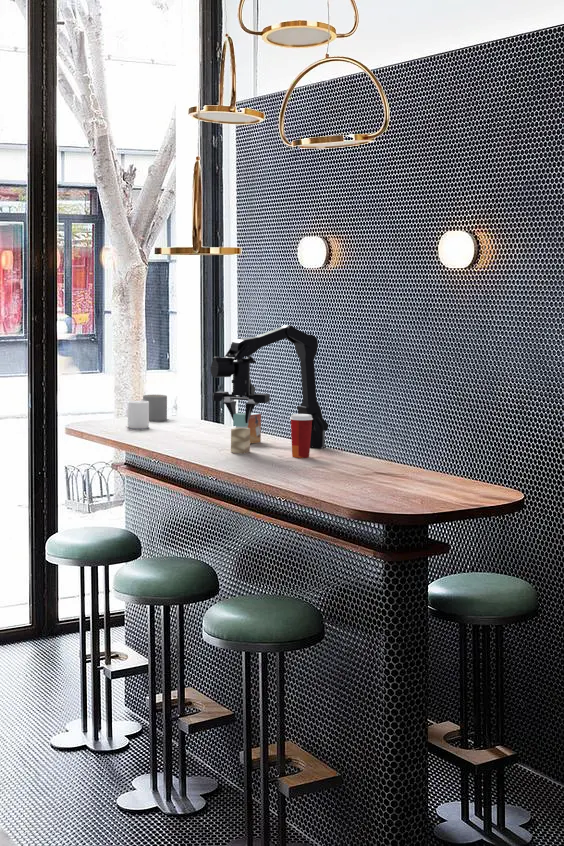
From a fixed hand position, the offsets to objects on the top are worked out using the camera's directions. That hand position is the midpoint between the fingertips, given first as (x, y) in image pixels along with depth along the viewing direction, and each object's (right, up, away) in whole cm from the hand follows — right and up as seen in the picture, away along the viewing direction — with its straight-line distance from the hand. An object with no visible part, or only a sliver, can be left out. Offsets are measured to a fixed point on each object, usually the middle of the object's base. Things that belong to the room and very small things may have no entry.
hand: (240, 422), depth 363 cm
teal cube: (0, -1, 0) cm, 1 cm away
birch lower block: (0, -10, +1) cm, 10 cm away
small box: (+2, -7, +24) cm, 25 cm away
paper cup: (+20, -12, -7) cm, 24 cm away
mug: (-44, -2, +61) cm, 75 cm away
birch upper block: (0, -6, +1) cm, 6 cm away
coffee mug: (-40, +1, +88) cm, 97 cm away
